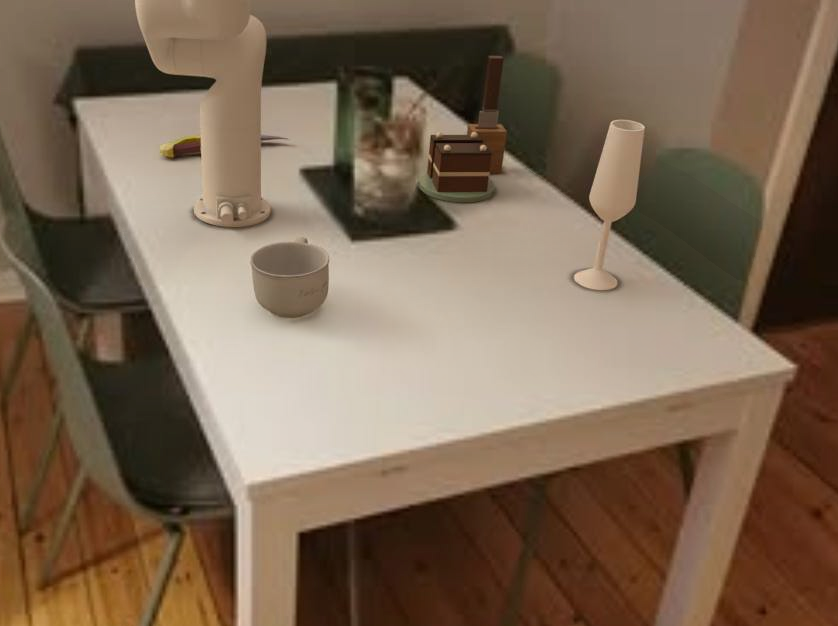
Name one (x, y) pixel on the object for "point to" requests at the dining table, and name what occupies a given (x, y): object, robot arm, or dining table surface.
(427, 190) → the cake plate
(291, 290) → the teacup
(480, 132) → the knife holder
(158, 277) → the dining table surface
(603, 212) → the champagne flute
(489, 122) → the cake knife
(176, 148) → the knife
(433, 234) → the dining table surface
